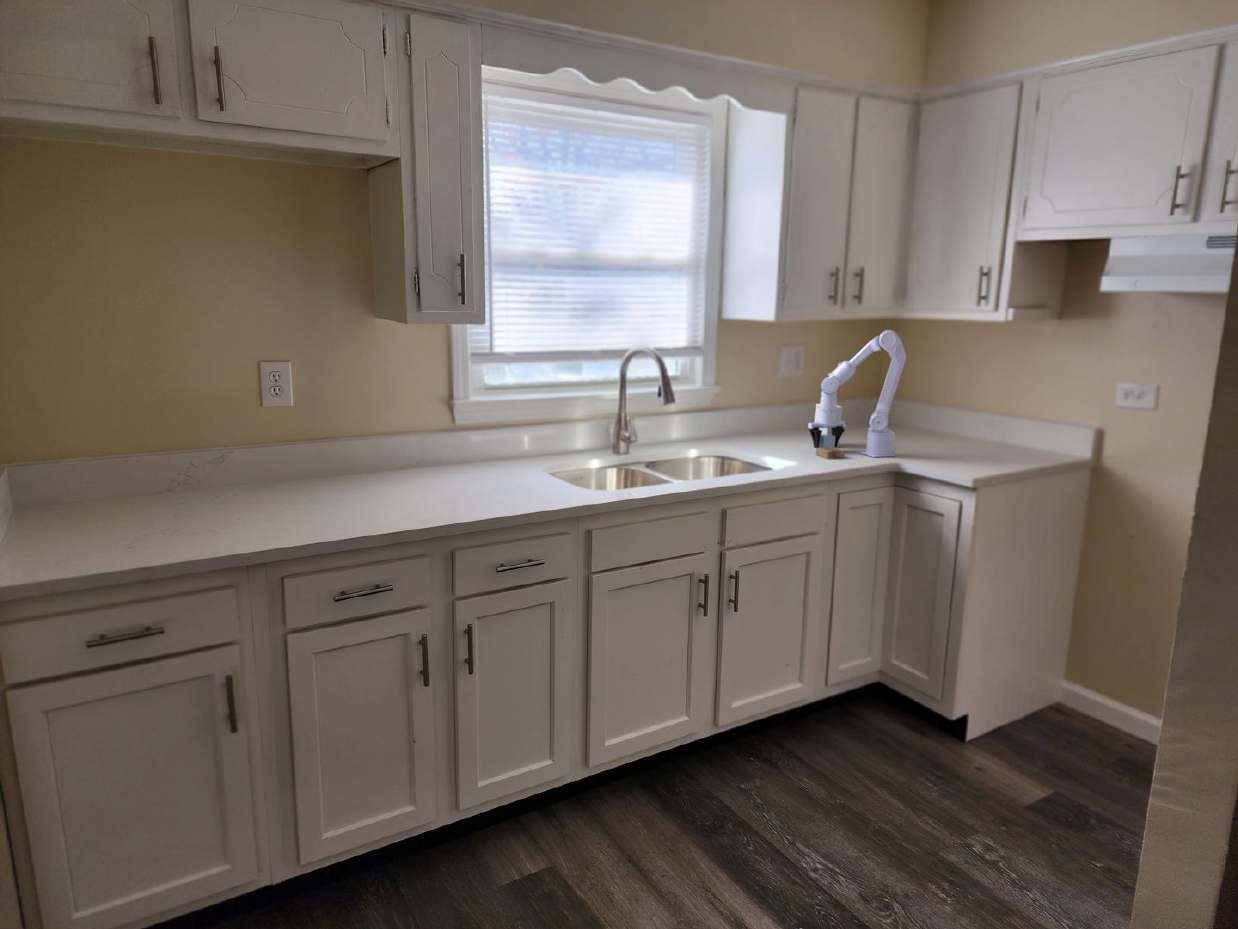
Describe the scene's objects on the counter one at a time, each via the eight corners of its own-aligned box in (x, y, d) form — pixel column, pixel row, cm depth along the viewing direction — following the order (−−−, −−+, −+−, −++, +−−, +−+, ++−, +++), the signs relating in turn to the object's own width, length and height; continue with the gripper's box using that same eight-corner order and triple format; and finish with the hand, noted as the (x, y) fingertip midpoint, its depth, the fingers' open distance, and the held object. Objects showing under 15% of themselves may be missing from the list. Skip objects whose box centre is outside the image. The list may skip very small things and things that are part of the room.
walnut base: (832, 455, 291) (833, 447, 291) (844, 459, 285) (844, 450, 284) (815, 456, 289) (816, 447, 288) (827, 460, 283) (827, 451, 282)
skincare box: (811, 444, 310) (814, 403, 307) (825, 443, 313) (828, 402, 310) (826, 448, 303) (829, 406, 300) (840, 447, 306) (843, 405, 302)
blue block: (826, 450, 299) (828, 434, 298) (834, 452, 295) (835, 436, 294) (816, 450, 298) (817, 434, 297) (823, 452, 294) (824, 436, 292)
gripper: (838, 408, 299) (836, 444, 302) (804, 409, 295) (802, 446, 297) (850, 410, 293) (847, 448, 296) (815, 412, 288) (812, 449, 291)
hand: (825, 447), depth 296 cm, fingers open, 7 cm apart
